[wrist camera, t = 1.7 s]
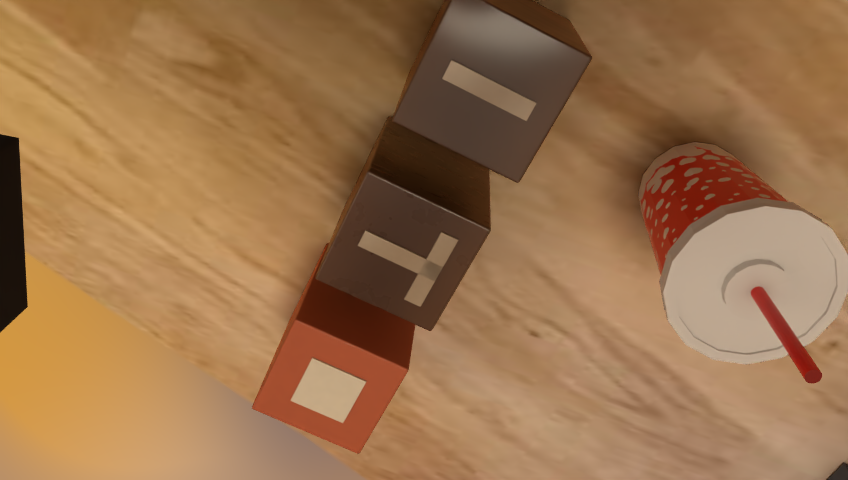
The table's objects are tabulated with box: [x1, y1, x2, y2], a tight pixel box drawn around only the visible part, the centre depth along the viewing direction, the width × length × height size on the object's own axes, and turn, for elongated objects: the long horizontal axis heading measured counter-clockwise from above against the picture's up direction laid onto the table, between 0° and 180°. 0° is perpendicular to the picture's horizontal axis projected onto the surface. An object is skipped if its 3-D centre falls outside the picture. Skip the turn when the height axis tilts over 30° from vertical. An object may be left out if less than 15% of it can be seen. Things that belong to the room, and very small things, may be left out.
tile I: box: [392, 0, 592, 183], centre depth 29 cm, size 5×5×7 cm
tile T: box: [316, 116, 491, 331], centre depth 32 cm, size 5×5×7 cm
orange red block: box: [252, 244, 415, 454], centre depth 35 cm, size 5×5×7 cm
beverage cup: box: [638, 142, 848, 383], centre depth 28 cm, size 6×6×14 cm
